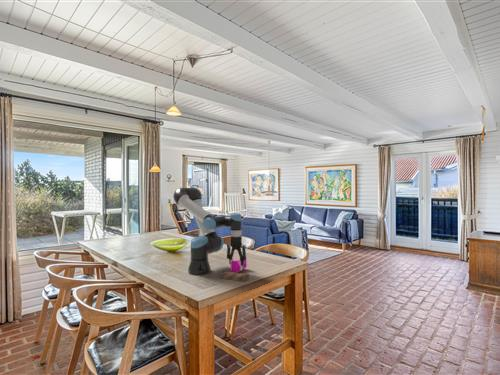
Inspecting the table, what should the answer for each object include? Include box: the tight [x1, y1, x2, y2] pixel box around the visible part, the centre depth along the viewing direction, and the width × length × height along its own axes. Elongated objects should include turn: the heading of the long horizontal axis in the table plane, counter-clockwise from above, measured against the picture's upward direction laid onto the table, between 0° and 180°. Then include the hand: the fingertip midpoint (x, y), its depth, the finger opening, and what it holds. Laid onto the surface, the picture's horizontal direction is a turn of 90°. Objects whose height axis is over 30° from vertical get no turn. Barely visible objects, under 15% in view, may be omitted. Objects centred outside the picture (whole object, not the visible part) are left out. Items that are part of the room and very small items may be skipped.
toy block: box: [230, 259, 248, 273], centre depth 190 cm, size 15×6×8 cm, turn 154°
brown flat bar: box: [219, 270, 250, 282], centre depth 176 cm, size 17×7×2 cm, turn 66°
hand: (236, 269), depth 188 cm, fingers closed on toy block, 6 cm apart
